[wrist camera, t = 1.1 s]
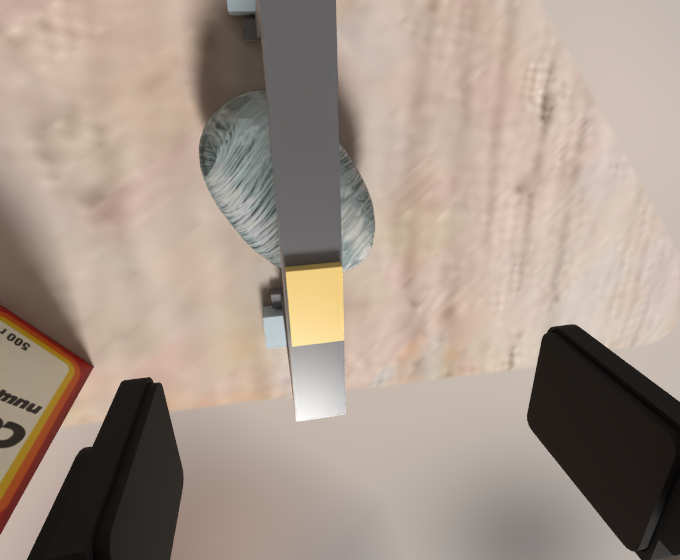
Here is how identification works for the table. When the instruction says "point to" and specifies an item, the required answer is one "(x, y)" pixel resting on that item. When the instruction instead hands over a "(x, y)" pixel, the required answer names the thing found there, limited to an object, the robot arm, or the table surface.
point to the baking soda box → (31, 402)
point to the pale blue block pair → (244, 4)
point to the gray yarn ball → (270, 181)
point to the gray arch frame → (306, 193)
